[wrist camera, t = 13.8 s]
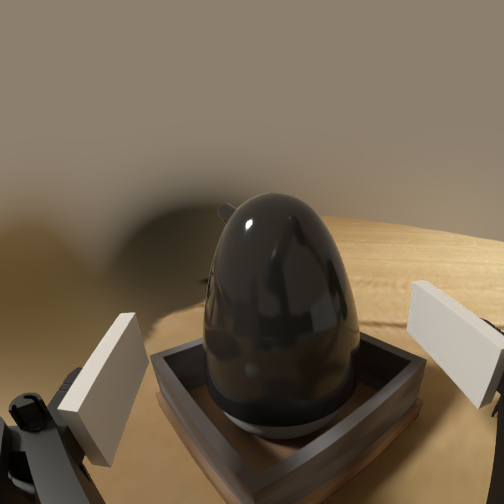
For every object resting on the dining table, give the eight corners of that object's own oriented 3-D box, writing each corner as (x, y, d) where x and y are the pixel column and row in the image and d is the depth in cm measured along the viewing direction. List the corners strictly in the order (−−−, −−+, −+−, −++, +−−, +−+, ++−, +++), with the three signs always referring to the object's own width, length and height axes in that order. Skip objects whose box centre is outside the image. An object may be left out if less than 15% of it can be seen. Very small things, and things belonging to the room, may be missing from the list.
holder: (296, 346, 31) (294, 299, 29) (418, 414, 19) (434, 358, 17) (159, 405, 23) (142, 354, 22) (259, 540, 11) (249, 504, 10)
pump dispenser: (288, 353, 27) (278, 183, 23) (381, 403, 19) (402, 187, 15) (189, 401, 22) (148, 203, 18) (274, 489, 14) (249, 214, 9)
